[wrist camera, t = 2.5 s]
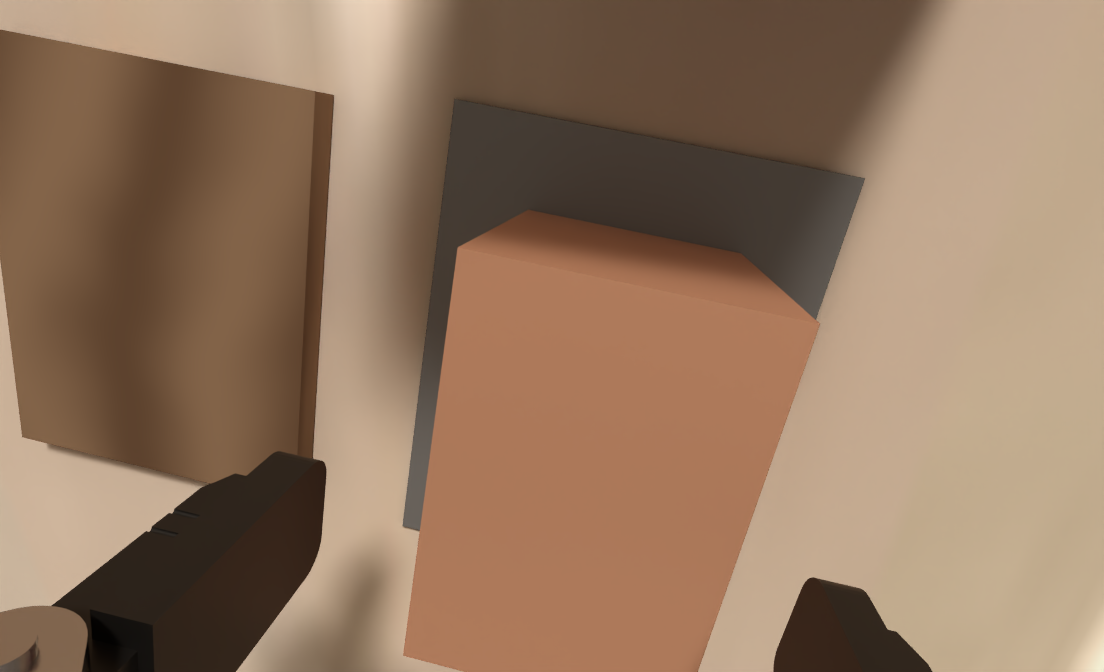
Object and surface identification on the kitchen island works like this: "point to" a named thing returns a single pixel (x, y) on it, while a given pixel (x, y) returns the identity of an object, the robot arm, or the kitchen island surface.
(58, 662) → the robot arm
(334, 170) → the kitchen island surface
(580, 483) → the terracotta block
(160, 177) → the walnut board
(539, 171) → the tile
